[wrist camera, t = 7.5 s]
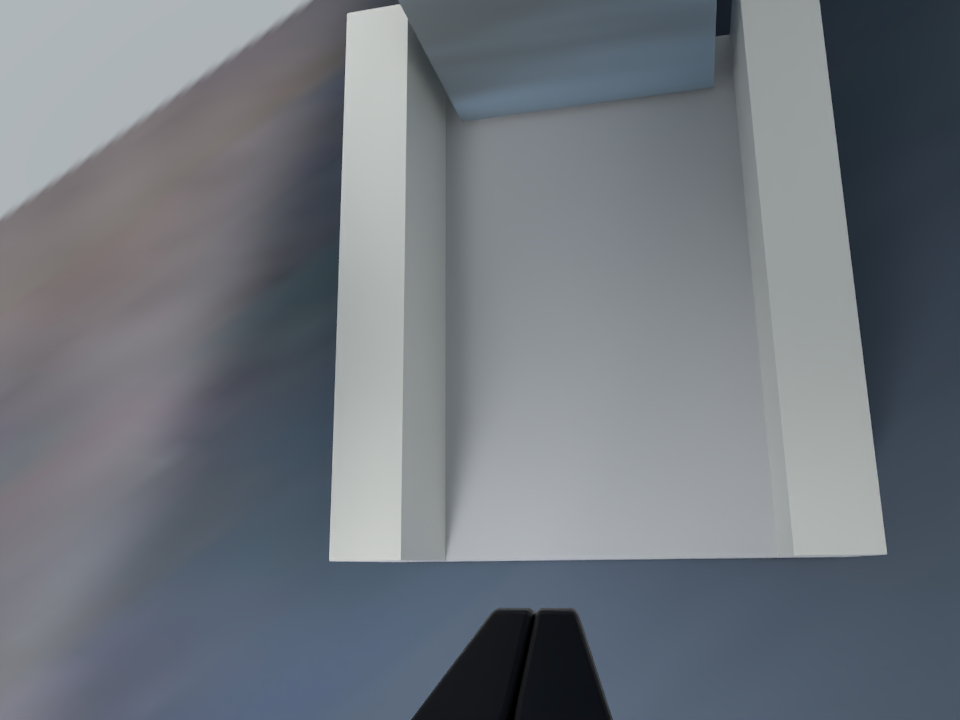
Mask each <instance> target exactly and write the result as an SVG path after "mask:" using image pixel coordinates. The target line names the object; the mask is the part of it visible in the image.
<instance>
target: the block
mask: <svg viewBox="0 0 960 720" xmlns="http://www.w3.org/2000/svg"><path fill="white" fill-rule="evenodd" d="M398 1H399V3H400V5H401V7H402V9H403V11H404V12H405V14H406V16H407V18H408V20H409V22H410V24H411V26H412V28H413V30H414V32H415V33H416V35H417V37H418V39H419V41H420V43H421V45H422V47H423V49H424V51H425V53H426V54H427V56H428V58H429V60H430V62H431V64H432V66H433V68H434V70H435V72H436V74H437V75H438V77H439V79H440V81H441V83H442V85H443V87H444V89H445V91H446V93H447V95H448V96H449V98H450V100H451V102H452V104H453V106H454V108H455V110H456V112H457V114H458V115H459V117H460V119H461V121H462V122H464V121H471V120H478V119H486V118H493V117H500V116H508V115H515V114H522V113H530V112H537V111H544V110H551V109H559V108H566V107H573V106H581V105H588V104H595V103H603V102H610V101H617V100H625V99H632V98H639V97H646V96H654V95H661V94H668V93H676V92H683V91H690V90H698V89H705V88H712V87H714V62H715V36H716V11H717V0H398Z"/></svg>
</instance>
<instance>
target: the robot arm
mask: <svg viewBox="0 0 960 720" xmlns="http://www.w3.org/2000/svg"><path fill="white" fill-rule="evenodd" d="M411 720H613V718H612V715H611V712H610V709H609V706H608V703H607V700H606V697H605V694H604V691H603V688H602V685H601V682H600V678H599V675H598V672H597V669H596V666H595V663H594V660H593V657H592V654H591V651H590V648H589V645H588V642H587V638H586V635H585V632H584V629H583V626H582V623H581V620H580V617H579V615H578V612H577V611H576V610H575V609H573V608H541V609H539V610H538V611H537V613H535V611H534V610H532V609H530V608H498V609H496V610H495V611H493V612H492V613H491V614H490V615H489V617H488V618H487V619H486V621H485V622H484V623H483V625H482V626H481V627H480V629H479V630H478V631H477V633H476V634H475V635H474V637H473V638H472V639H471V641H470V642H469V643H468V645H467V646H466V647H465V649H464V650H463V651H462V653H461V654H460V655H459V657H458V658H457V659H456V661H455V662H454V663H453V665H452V666H451V667H450V669H449V670H448V671H447V673H446V674H445V675H444V677H443V678H442V679H441V681H440V682H439V683H438V685H437V686H436V687H435V689H434V690H433V691H432V693H431V694H430V695H429V697H428V698H427V699H426V701H425V702H424V703H423V705H422V706H421V707H420V709H419V710H418V711H417V713H416V714H415V715H414V717H413V718H412V719H411Z"/></svg>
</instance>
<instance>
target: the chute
mask: <svg viewBox="0 0 960 720" xmlns="http://www.w3.org/2000/svg"><path fill="white" fill-rule="evenodd" d="M886 554H887V549H886V541H885V532H884V524H883V516H882V508H881V500H880V492H879V483H878V475H877V467H876V459H875V451H874V443H873V434H872V426H871V418H870V410H869V402H868V394H867V385H866V377H865V369H864V361H863V353H862V345H861V336H860V328H859V320H858V312H857V304H856V296H855V287H854V279H853V271H852V263H851V255H850V247H849V238H848V230H847V222H846V214H845V206H844V197H843V189H842V181H841V173H840V165H839V157H838V148H837V140H836V132H835V124H834V116H833V108H832V99H831V91H830V83H829V75H828V67H827V59H826V50H825V42H824V34H823V26H822V18H821V10H820V1H819V0H732V6H731V22H730V34H729V35H723V36H716V37H715V62H714V87H712V88H705V89H698V90H690V91H683V92H676V93H668V94H661V95H654V96H646V97H639V98H632V99H625V100H617V101H610V102H603V103H595V104H588V105H581V106H573V107H566V108H559V109H551V110H544V111H537V112H530V113H522V114H515V115H508V116H500V117H493V118H486V119H478V120H471V121H464V122H462V121H461V119H460V117H459V115H458V114H457V112H456V110H455V108H454V106H453V104H452V102H451V100H450V98H449V96H448V95H447V93H446V91H445V89H444V87H443V85H442V83H441V81H440V79H439V77H438V75H437V74H436V72H435V70H434V68H433V66H432V64H431V62H430V60H429V58H428V56H427V54H426V53H425V51H424V49H423V47H422V45H421V43H420V41H419V39H418V37H417V35H416V33H415V32H414V30H413V28H412V26H411V24H410V22H409V20H408V18H407V16H406V14H405V12H404V11H403V9H402V7H401V5H400V4H398V5H392V6H387V7H381V8H375V9H369V10H363V11H358V12H352V13H347V35H346V65H345V95H344V126H343V156H342V186H341V217H340V247H339V277H338V308H337V338H336V368H335V399H334V429H333V459H332V490H331V520H330V550H329V561H352V562H456V561H542V560H629V559H715V558H802V557H854V556H870V555H886Z"/></svg>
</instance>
